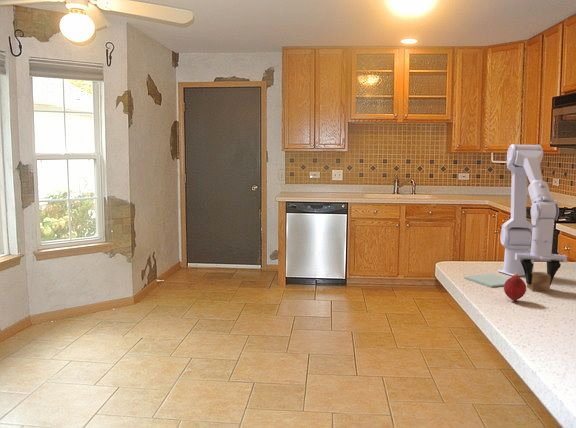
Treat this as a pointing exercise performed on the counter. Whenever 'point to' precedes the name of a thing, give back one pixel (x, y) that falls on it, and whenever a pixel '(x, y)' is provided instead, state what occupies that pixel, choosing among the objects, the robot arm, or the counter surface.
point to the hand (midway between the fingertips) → (538, 284)
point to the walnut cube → (540, 282)
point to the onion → (515, 287)
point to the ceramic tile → (488, 280)
